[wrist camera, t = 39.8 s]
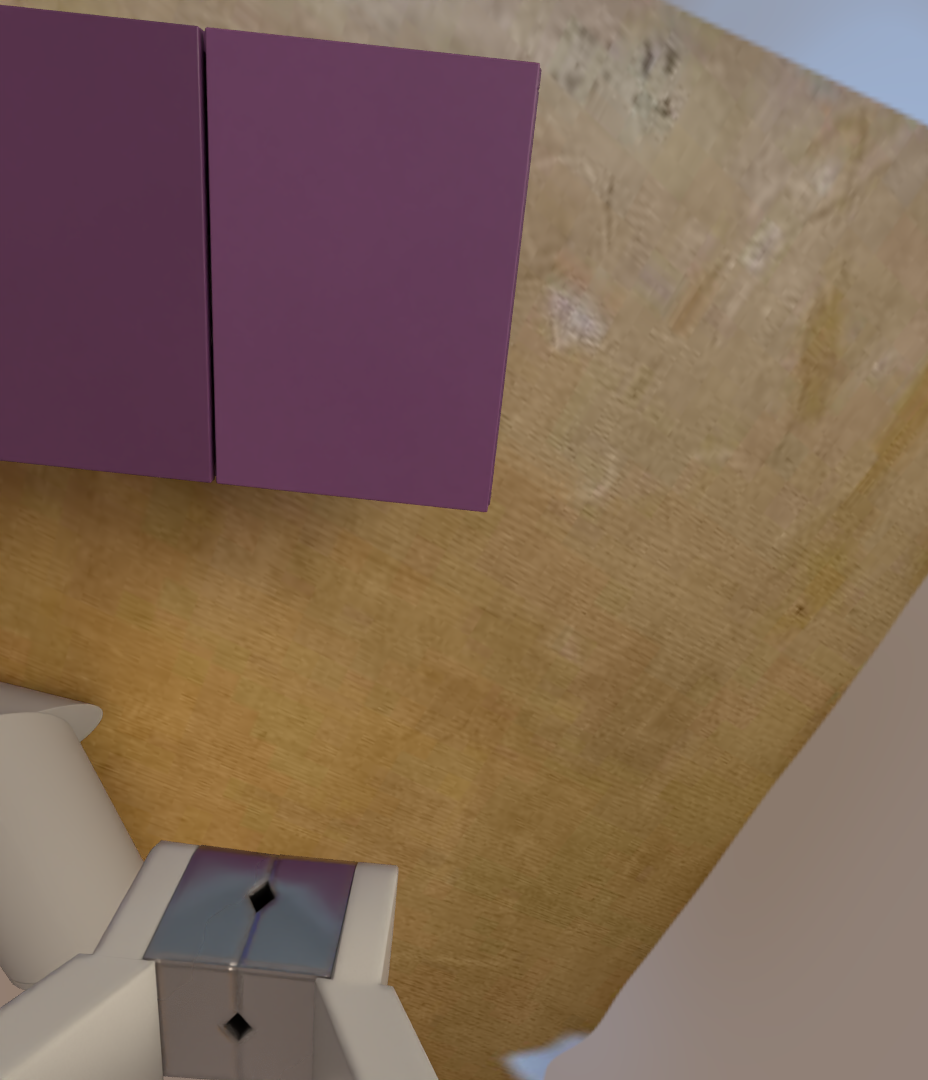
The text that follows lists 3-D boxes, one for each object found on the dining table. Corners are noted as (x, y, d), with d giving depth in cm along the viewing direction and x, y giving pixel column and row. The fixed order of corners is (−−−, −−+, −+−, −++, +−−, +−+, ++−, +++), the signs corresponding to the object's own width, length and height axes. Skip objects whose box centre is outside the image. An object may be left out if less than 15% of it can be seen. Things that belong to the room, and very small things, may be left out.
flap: (539, 65, 19) (540, 62, 19) (487, 508, 24) (487, 512, 23) (210, 30, 19) (204, 26, 19) (220, 479, 24) (216, 483, 23)
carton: (523, 133, 32) (543, 60, 19) (491, 413, 36) (489, 514, 23) (122, 90, 32) (-142, -14, 19) (140, 375, 36) (-64, 455, 23)
